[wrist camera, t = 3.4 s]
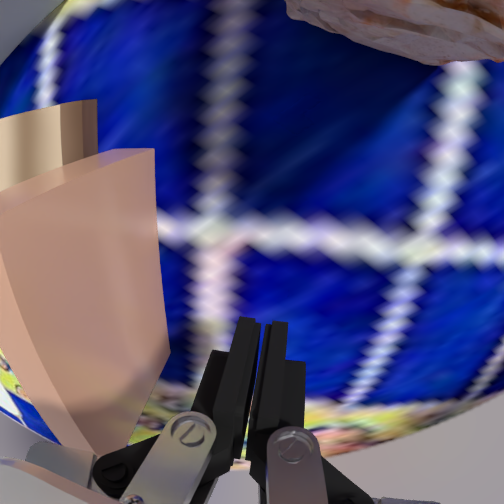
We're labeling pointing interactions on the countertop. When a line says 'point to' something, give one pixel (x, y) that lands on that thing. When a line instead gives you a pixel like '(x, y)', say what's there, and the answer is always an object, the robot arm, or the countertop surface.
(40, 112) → the tan flat rectangular panel
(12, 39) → the alarm clock
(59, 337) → the tile
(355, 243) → the countertop surface
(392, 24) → the food item
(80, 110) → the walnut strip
